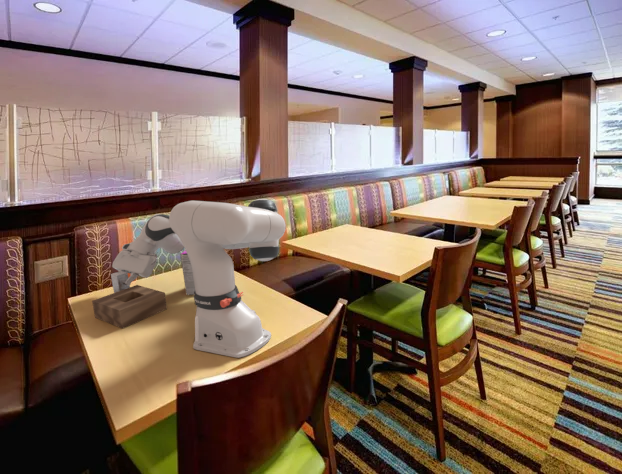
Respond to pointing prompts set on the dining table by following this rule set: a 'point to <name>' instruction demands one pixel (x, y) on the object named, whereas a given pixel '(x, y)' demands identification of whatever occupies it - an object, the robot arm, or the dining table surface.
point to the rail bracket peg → (119, 281)
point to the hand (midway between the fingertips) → (121, 283)
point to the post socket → (129, 305)
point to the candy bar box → (187, 274)
